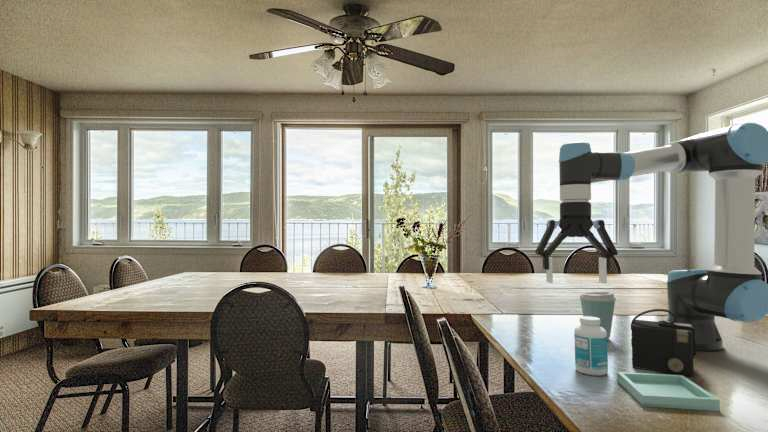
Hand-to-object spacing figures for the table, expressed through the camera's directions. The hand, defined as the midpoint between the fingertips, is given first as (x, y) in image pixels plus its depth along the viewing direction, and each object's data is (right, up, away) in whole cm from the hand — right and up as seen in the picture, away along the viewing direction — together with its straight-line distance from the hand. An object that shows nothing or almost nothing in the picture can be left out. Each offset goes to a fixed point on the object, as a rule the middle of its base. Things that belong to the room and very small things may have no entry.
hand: (576, 282), depth 110 cm
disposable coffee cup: (+20, -23, +27) cm, 40 cm away
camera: (+22, -22, -2) cm, 31 cm away
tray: (+10, -21, -19) cm, 30 cm away
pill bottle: (+2, -22, -4) cm, 22 cm away
